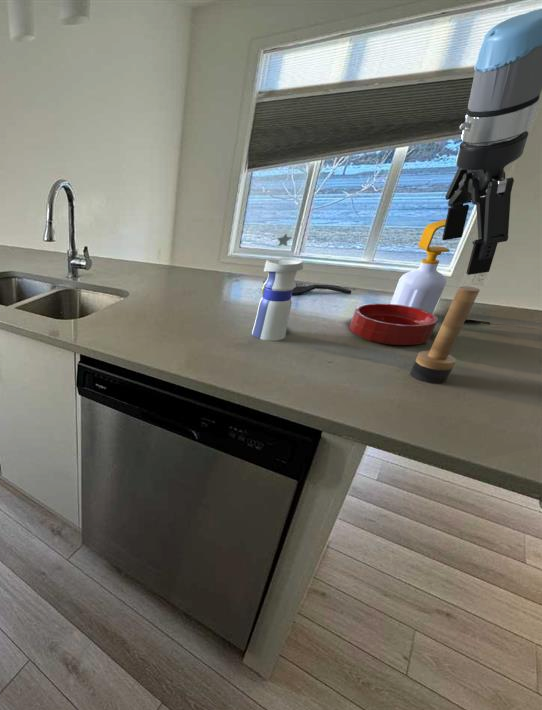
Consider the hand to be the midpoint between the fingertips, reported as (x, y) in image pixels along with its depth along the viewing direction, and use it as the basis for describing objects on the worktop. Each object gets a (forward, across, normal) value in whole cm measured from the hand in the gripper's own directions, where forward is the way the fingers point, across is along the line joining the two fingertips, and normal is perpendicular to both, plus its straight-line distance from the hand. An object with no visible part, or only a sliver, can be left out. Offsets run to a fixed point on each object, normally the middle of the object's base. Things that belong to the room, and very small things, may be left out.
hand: (463, 254), depth 77 cm
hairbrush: (+30, -40, -22) cm, 54 cm away
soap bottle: (+30, -22, 0) cm, 38 cm away
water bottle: (+17, -4, -34) cm, 38 cm away
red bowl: (+25, -8, -8) cm, 27 cm away
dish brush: (+20, +13, -6) cm, 24 cm away
